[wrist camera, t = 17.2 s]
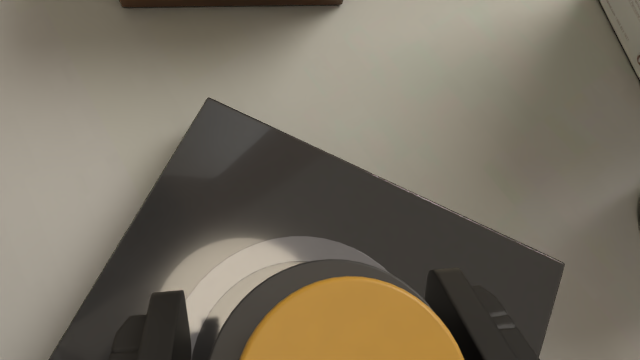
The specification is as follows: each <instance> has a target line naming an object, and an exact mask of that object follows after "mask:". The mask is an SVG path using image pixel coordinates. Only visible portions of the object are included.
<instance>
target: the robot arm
mask: <svg viewBox="0 0 640 360" xmlns="http://www.w3.org/2000/svg"><path fill="white" fill-rule="evenodd" d="M424 300H425V301H426V302H427V303H428V304H429V306H430V307H431V308H432V309H433V311H434V312H435V313H436V315H437V316H438V317H439V318H440V319H441V320H442V322H443V323H444V324H445V326H446V327H447V328H448V329H449V331H450V333H451V334H452V336H453V338H454V339H455V341H456V343H457V344H458V346H459V349H460V351H461V353H462V355H463V358H464V360H540V359H539V358H538V356H537V355H536V353H535V352H534V350H533V349H532V347H531V346H530V344H529V343H528V342H527V340H526V339H525V337H524V336H523V334H522V333H521V331H520V330H519V329H518V328H516V324H515V323H514V321H513V320H512V318H511V317H510V316H509V315H508V314H507V311H506V310H505V308H504V307H503V305H502V304H501V303H500V301H499V300H498V298H497V297H496V296H494V295H493V294H492V293H490V292H489V291H488V290H486V289H485V288H484V287H482V286H481V285H479V286H471V284H470V283H469V281H468V280H467V278H466V277H465V275H464V274H463V272H462V271H461V269H459V268H447V269H435V270H430V271H429V272H428V276H427V283H426V290H425V298H424ZM108 360H191V336H190V329H189V321H188V314H187V307H186V300H185V294H184V291H183V290H177V291H165V292H153V293H152V294H151V297H150V302H149V306H148V310H147V314H146V315H135V316H129V317H128V319H127V320H126V321H125V322H124V323H123V325H122V326H121V327H120V328H119V329H118V331H117V332H116V335H115V338H114V341H113V345H112V348H111V354H110V355H109V359H108Z"/></svg>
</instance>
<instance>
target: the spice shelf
mask: <svg viewBox="0 0 640 360" xmlns="http://www.w3.org/2000/svg"><path fill="white" fill-rule="evenodd" d="M119 1H120V3H121V6H122V7H176V6H260V5H340V4H342V2H343V0H119Z"/></svg>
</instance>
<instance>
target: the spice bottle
mask: <svg viewBox="0 0 640 360" xmlns="http://www.w3.org/2000/svg"><path fill="white" fill-rule="evenodd" d="M209 360H464V358H463V355H462V353H461V351H460V349H459V346H458V344H457V343H456V341H455V339H454V338H453V336H452V334H451V333H450V331H449V329H448V328H447V327H446V326H445V324H444V323H443V322H442V320H441V319H440V318H439V317H438V316H437V315H436V313H435V312H434V311H433V309H432V308H431V307H430V306H429V304H428V303H427V302H426V301H425V300H424V299H423V298H422V297H421V296H420V295H419V294H418V293H417V292H416V291H415V290H414V289H412V288H411V287H410V286H409V285H407V284H406V283H405V282H404V281H402V280H400V279H399V278H397V277H395V276H394V275H392V274H390V273H388V272H386V271H384V270H382V269H380V268H377V267H375V266H372V265H368V264H365V263H362V262H357V261H351V260H344V259H324V260H314V261H310V262H305V263H301V264H297V265H295V266H292V267H289V268H287V269H284V270H282V271H280V272H278V273H276V274H274V275H273V276H271V277H269V278H267V279H266V280H264V281H263V282H262V283H260V284H259V285H258V286H256V287H255V288H254V289H253V290H252V291H250V292H249V293H248V294H247V295H246V296H245V297H244V298H243V299H242V300H241V301H240V302H239V304H238V305H237V306H236V307H235V308H234V310H233V311H232V312H231V314H230V315H229V317H228V318H227V320H226V321H225V323H224V324H223V326H222V328H221V330H220V332H219V334H218V336H217V338H216V340H215V342H214V345H213V348H212V351H211V354H210V357H209Z"/></svg>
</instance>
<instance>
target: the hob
mask: <svg viewBox="0 0 640 360" xmlns="http://www.w3.org/2000/svg"><path fill="white" fill-rule="evenodd" d="M324 259H344V260H351V261H357V262H362V263H365V264H368V265H372V266H375V267H377V268H380V269H382V270H384V271H386V272H388V273H390V274H392V275H394V276H395V277H397V278H399V279H400V280H402V281H404V282H405V283H406V284H407V285H409V286H410V287H411V288H412V289H414V290H415V291H416V292H417V293H418V294H419V295H420V296H421V297H422V298H423V299H424V298H425V290H426V283H427V276H428V272H429V271H430V270H435V269H447V268H459V269H461V271H462V272H463V274H464V275H465V277H466V278H467V280H468V281H469V283H470V284H471V286H479V285H481V286H482V287H484V288H485V289H486V290H488V291H489V292H490V293H492V294H493V295H494V296H496V297H497V298H498V300H499V301H500V303H501V304H502V305H503V307H504V308H505V310H506V311H507V314H508V315H509V316H510V317H511V318H512V320H513V321H514V323H515V324H516V328H518V329H519V330H520V331H521V333H522V334H523V336H524V337H525V339H526V340H527V342H528V343H529V344H530V346H531V347H532V349H533V350H534V352H535V353H536V355H537V356H538V358H539V355H540V351H541V348H542V344H543V341H544V337H545V334H546V330H547V326H548V323H549V319H550V316H551V312H552V309H553V305H554V301H555V298H556V294H557V291H558V287H559V284H560V280H561V277H562V273H563V269H564V266H565V264H564V263H563V262H561V261H559V260H557V259H554V258H552V257H550V256H548V255H546V254H544V253H542V252H539V251H537V250H535V249H533V248H531V247H529V246H527V245H524V244H522V243H520V242H518V241H516V240H514V239H512V238H509V237H507V236H505V235H503V234H501V233H499V232H497V231H494V230H492V229H490V228H488V227H486V226H484V225H482V224H479V223H477V222H475V221H473V220H471V219H469V218H467V217H464V216H462V215H460V214H458V213H456V212H454V211H452V210H449V209H447V208H445V207H443V206H441V205H439V204H437V203H434V202H432V201H430V200H428V199H426V198H424V197H421V196H419V195H417V194H415V193H413V192H411V191H409V190H406V189H404V188H402V187H400V186H398V185H396V184H394V183H391V182H389V181H387V180H385V179H383V178H381V177H379V176H376V175H374V174H372V173H370V172H368V171H366V170H364V169H361V168H359V167H357V166H355V165H353V164H351V163H349V162H346V161H344V160H342V159H340V158H338V157H336V156H334V155H331V154H329V153H327V152H325V151H323V150H321V149H319V148H316V147H314V146H312V145H310V144H308V143H306V142H304V141H301V140H299V139H297V138H295V137H293V136H291V135H289V134H286V133H284V132H282V131H280V130H278V129H276V128H274V127H271V126H269V125H267V124H265V123H263V122H261V121H259V120H256V119H254V118H252V117H250V116H248V115H246V114H244V113H241V112H239V111H237V110H235V109H233V108H231V107H229V106H226V105H224V104H222V103H220V102H218V101H216V100H214V99H211V98H207V99H206V101H205V103H204V104H203V106H202V108H201V109H200V111H199V113H198V114H197V116H196V117H195V119H194V121H193V122H192V124H191V126H190V127H189V129H188V131H187V132H186V134H185V136H184V137H183V139H182V141H181V142H180V144H179V145H178V147H177V149H176V150H175V152H174V154H173V155H172V157H171V159H170V160H169V162H168V164H167V165H166V167H165V169H164V170H163V172H162V173H161V175H160V177H159V178H158V180H157V182H156V183H155V185H154V187H153V188H152V190H151V192H150V193H149V195H148V196H147V198H146V200H145V201H144V203H143V205H142V206H141V208H140V210H139V211H138V213H137V215H136V216H135V218H134V220H133V221H132V223H131V224H130V226H129V228H128V229H127V231H126V233H125V234H124V236H123V238H122V239H121V241H120V243H119V244H118V246H117V248H116V249H115V251H114V252H113V254H112V256H111V257H110V259H109V261H108V262H107V264H106V266H105V267H104V269H103V271H102V272H101V274H100V276H99V277H98V279H97V280H96V282H95V284H94V285H93V287H92V289H91V290H90V292H89V294H88V295H87V297H86V299H85V300H84V302H83V303H82V305H81V307H80V308H79V310H78V312H77V313H76V315H75V317H74V318H73V320H72V322H71V323H70V325H69V327H68V328H67V330H66V331H65V333H64V335H63V336H62V338H61V340H60V341H59V343H58V345H57V346H56V348H55V350H54V351H53V353H52V355H51V356H50V358H49V359H48V360H108V359H109V355H110V354H111V348H112V345H113V341H114V338H115V335H116V332H117V331H118V329H119V328H120V327H121V326H122V325H123V323H124V322H125V321H126V320H127V319H128V317H129V316H135V315H146V314H147V310H148V306H149V302H150V297H151V294H152V293H153V292H165V291H177V290H183V291H184V294H185V300H186V307H187V314H188V321H189V329H190V336H191V360H209V357H210V354H211V351H212V348H213V345H214V342H215V340H216V338H217V336H218V334H219V332H220V330H221V328H222V326H223V324H224V323H225V321H226V320H227V318H228V317H229V315H230V314H231V312H232V311H233V310H234V308H235V307H236V306H237V305H238V304H239V302H240V301H241V300H242V299H243V298H244V297H245V296H246V295H247V294H248V293H249V292H250V291H252V290H253V289H254V288H255V287H256V286H258V285H259V284H260V283H262V282H263V281H264V280H266V279H267V278H269V277H271V276H273V275H274V274H276V273H278V272H280V271H282V270H284V269H287V268H289V267H292V266H295V265H297V264H301V263H305V262H310V261H314V260H324Z"/></svg>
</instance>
